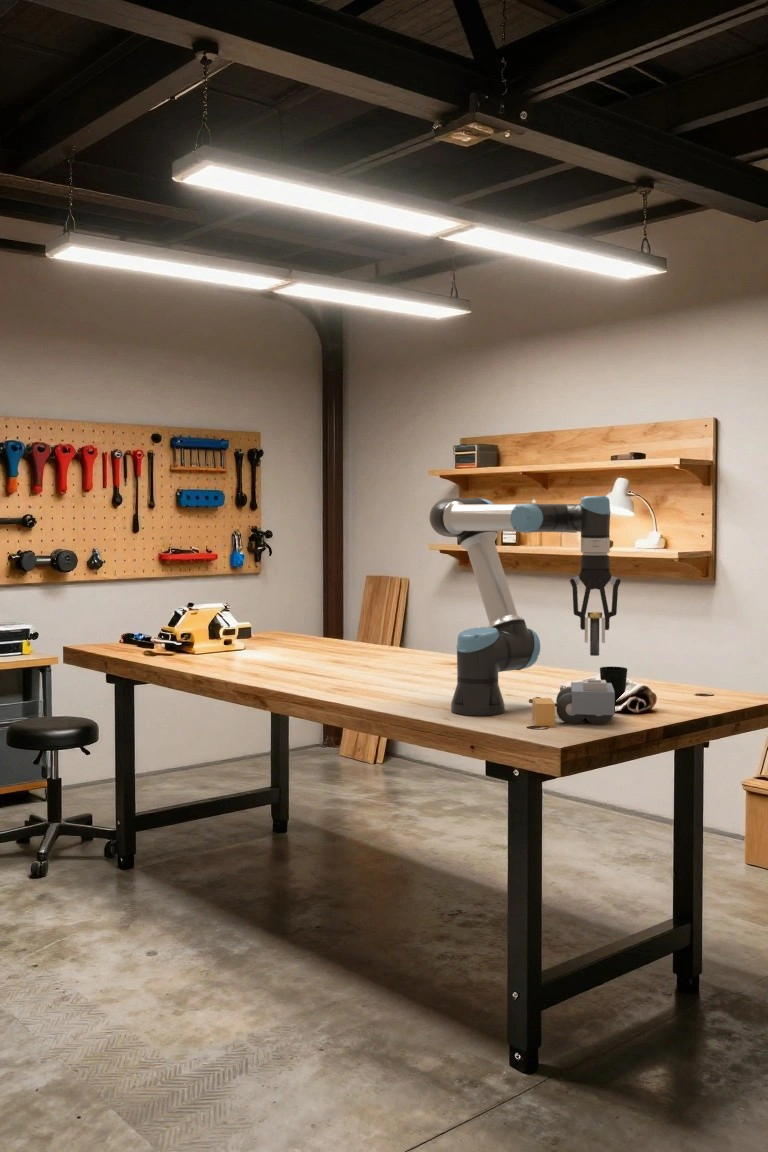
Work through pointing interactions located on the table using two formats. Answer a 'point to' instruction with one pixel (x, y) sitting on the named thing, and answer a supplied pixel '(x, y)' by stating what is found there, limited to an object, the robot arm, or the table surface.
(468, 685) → the robot arm
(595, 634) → the pin
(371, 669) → the table surface
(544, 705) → the block
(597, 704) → the trolley
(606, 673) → the cup
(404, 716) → the table surface
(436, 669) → the table surface
